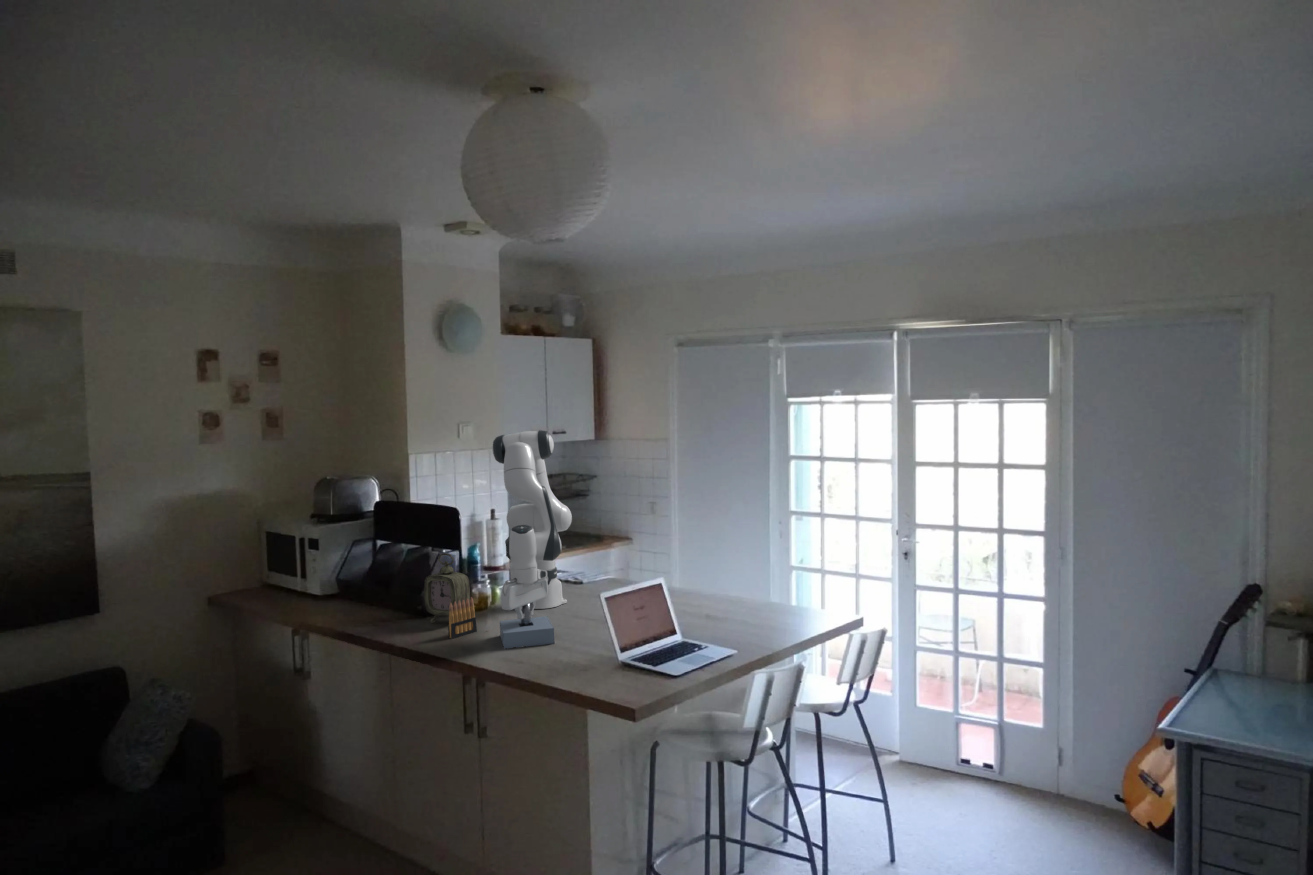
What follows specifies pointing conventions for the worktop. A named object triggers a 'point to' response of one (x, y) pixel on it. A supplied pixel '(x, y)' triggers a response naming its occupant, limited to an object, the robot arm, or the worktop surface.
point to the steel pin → (526, 615)
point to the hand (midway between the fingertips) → (525, 617)
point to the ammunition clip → (461, 619)
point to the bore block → (526, 632)
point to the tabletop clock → (445, 590)
